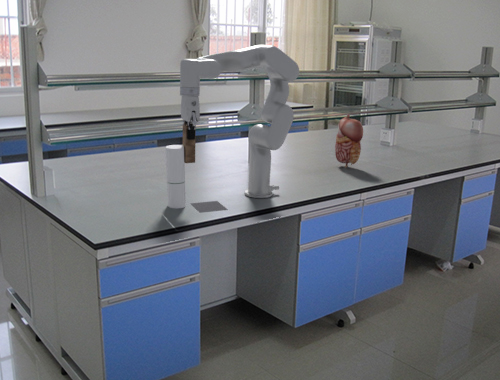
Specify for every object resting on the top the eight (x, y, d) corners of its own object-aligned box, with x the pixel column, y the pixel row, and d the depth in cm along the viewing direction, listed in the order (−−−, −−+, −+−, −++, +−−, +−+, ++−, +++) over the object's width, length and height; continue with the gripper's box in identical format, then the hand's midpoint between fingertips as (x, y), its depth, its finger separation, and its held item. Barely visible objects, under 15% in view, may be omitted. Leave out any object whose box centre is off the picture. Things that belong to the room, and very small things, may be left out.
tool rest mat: (217, 202, 222) (217, 200, 222) (227, 211, 212) (227, 209, 211) (190, 204, 217) (190, 203, 217) (199, 213, 207) (199, 212, 206)
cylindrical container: (186, 203, 217) (184, 144, 210) (184, 209, 210) (183, 148, 203) (169, 203, 217) (166, 144, 209) (167, 209, 210) (164, 148, 203)
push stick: (191, 160, 213) (192, 123, 209) (195, 162, 209) (195, 125, 205) (182, 161, 211) (182, 124, 207) (185, 163, 208) (185, 125, 203)
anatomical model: (345, 163, 302) (350, 111, 293) (364, 170, 289) (370, 116, 280) (328, 165, 296) (333, 112, 287) (347, 172, 283) (352, 116, 274)
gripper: (206, 94, 197) (205, 142, 202) (191, 89, 211) (191, 134, 216) (187, 94, 194) (186, 142, 199) (174, 89, 208) (173, 134, 213)
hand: (189, 137), depth 207 cm, fingers closed on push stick, 4 cm apart
